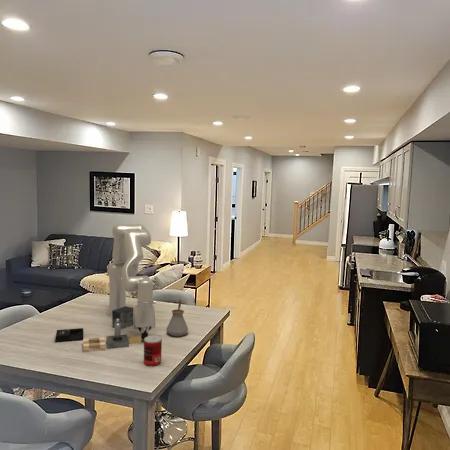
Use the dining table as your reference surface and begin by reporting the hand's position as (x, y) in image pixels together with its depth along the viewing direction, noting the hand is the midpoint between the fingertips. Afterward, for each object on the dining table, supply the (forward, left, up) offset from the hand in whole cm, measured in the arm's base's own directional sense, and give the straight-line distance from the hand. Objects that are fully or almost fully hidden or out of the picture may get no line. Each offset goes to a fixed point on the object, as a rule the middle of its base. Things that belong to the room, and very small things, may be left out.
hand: (144, 339), depth 207 cm
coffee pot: (-11, +20, -2) cm, 23 cm away
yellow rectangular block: (0, -5, -1) cm, 5 cm away
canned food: (+25, 0, -2) cm, 25 cm away
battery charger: (-14, -35, -2) cm, 38 cm away
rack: (+1, -24, -1) cm, 24 cm away
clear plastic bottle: (0, -13, -1) cm, 13 cm away
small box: (-25, -8, -2) cm, 26 cm away
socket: (0, -13, -1) cm, 13 cm away
